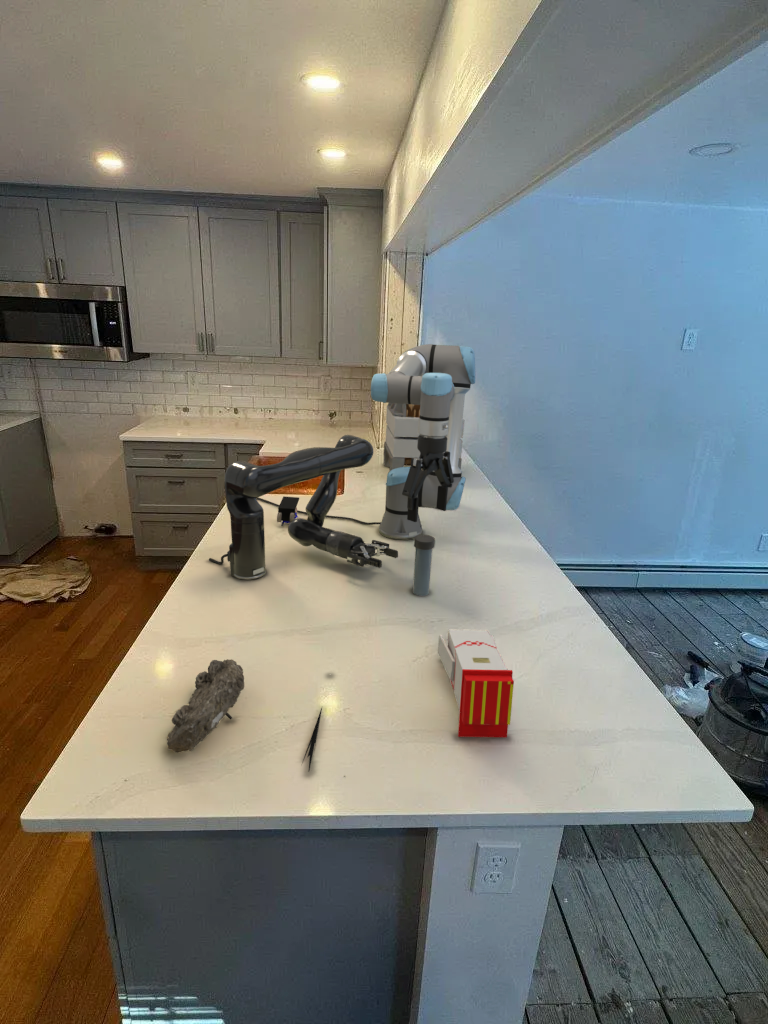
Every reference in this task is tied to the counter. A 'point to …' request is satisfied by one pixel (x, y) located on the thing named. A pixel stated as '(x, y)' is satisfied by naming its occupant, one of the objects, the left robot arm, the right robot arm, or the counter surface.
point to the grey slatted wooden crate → (404, 435)
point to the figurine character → (287, 510)
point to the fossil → (206, 705)
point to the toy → (478, 682)
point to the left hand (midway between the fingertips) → (389, 559)
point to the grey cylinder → (422, 571)
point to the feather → (313, 740)
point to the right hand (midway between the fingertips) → (426, 514)
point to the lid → (424, 542)
